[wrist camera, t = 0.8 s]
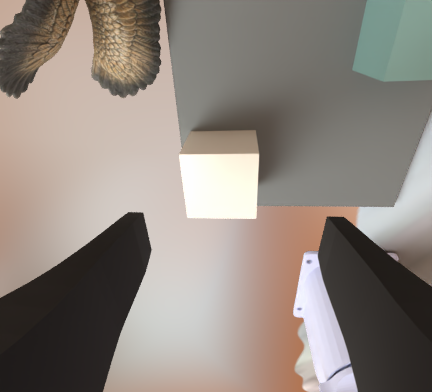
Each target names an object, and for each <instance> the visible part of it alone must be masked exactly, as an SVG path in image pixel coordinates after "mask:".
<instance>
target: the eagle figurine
mask: <svg viewBox="0 0 432 392" xmlns="http://www.w3.org/2000/svg"><path fill="white" fill-rule="evenodd" d="M85 1H86V4H87V7H88V9H89V14H90V19H91V22H92V27H93V43H94V57H93V65H92V78H93V79H94V80H96V81H98V82H99V83H100V85H101V87H102V88H104V89H109V92H110V93H111V94H112V95H113V96H116V95H119V96H120V97H121V98H125V97H126V96H127V95H128V94H130V95H131V96H134V95H136V94H137V92H138V89H139V88H140V89H142V90H145V89H146V87H147V85H151V84H153V81H154V80H155V78H156V74H158V73H159V66H160V65H161V60H160V58H159V56H160V49H161V47H160V44H159V43H158V41H159V39H160V35H159V32H160V27H159V24H158V22H159V21H160V19H161V16H160V13H161V7H160V4H159V3H160V1H159V0H85ZM78 3H79V0H26V3H25V4H24V6H23V8H22V12H21V13H18V14H15V16H14V22H13V23H12V24H10V25H8V26H5V27H4V28H3V29H2V30H1V31H0V35H1V38H0V89H1V91H2V92H6V95H7V96H8V97H10V96H11V95H13V96H14V98H16V99H17V98H19V97H20V95H21V92H22V93H23V92H25V91H26V90H27V88H28V84H29V83H32V82H33V79H34V77H35V74H36V72H37V70H38V68H39V67H40V66H41V65H43V64H44V63H45V62H47V61H48V60H49V59H51V58H52V57H53V56H54V55H55V54H56V53H57V52H58V51H59V49H60V48H61V46H62V44H63V42H64V40H65V37H66V35H67V33H68V31H69V29H70V27H71V24H72V22H73V19H74V14H75V11H76V8H77V6H78Z"/></svg>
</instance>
